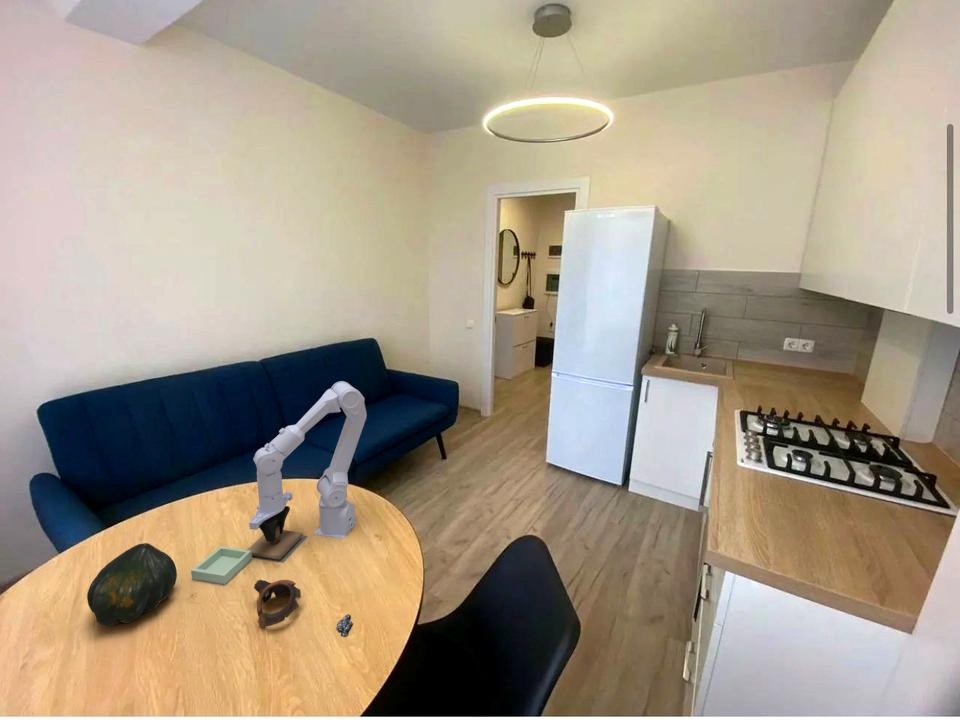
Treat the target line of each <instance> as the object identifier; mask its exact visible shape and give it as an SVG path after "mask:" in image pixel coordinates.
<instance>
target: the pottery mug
mask: <svg viewBox="0 0 960 720" xmlns="http://www.w3.org/2000/svg"><path fill="white" fill-rule="evenodd" d="M296 584H297V583H296V582H294V581H293V580H291V579H280V580H276V581H274V582H269V581H267V580H263V579H259V580H257V581H256V582H255V584H254V586H253V589H254V590H255V591H256V592H257V593H258V599H257V601H256V612H257V616H258V621H257V623H258V624H259V625H260V627H262V628H266V627H270V626H271V627H272V626H274V625H278V624H279V623H282V622H284V621H285V620H286V619H287V618H288V617H289V616H290V615H291V614H292V613H293V611H294V610H296V609H297V608H299V607H300V605H299V603H298V601H297V600H296V599H297V598H298V597H301V595H302V594H301V593H302V592H301V589H300V588H298V587H297V586H295V585H296ZM273 594H274V596H275V597H276V598H277V597H280V596H283V595H286V594H290V596H289V600H288V602H287V604H286V605H285V607H283V608H282V609H281V610H280V611H277V612H274V613H268V612H263V606H262V603H263V604H266V603H267V602H268V601H270V600H271V599H272V597H273V596H272V595H273Z"/></svg>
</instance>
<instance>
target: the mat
mask: <svg viewBox="0 0 960 720" xmlns="http://www.w3.org/2000/svg"><path fill="white" fill-rule="evenodd" d="M307 538H309V535H304V534H303V536H302V537H301V538H300V539H299V540H298V541H297V542H296V543H295V544H294V545H293V546H292V547H291V548H290V549H289V550H288V551H287V553H286V554H285V555H284V556H283V557H282V558H281V559H274V558H267V557H261V556H254V555H252V559H255V560H263V561H270V562H275V563H282V564H283V563H285V562H286V561H287V559H288V558H289V557H291V555H292V554H293V553H294V552H295V551H296V550H297V549H298V548H299V547H300V546H301V544H303V543H304V541H306V539H307Z"/></svg>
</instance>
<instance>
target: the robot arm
mask: <svg viewBox="0 0 960 720" xmlns="http://www.w3.org/2000/svg"><path fill="white" fill-rule="evenodd" d="M340 408H341V409H342V411H341V409H340ZM340 412H343V413H344V414H345V416H346V418H345V420H344V423H343V427H342V429H341V433H340V434H339V438H338V442H337V443H336V447H335V450H334V453H333V456H332V458H331V462H330V464H329V467H327V468H326V469H325V470H324V471H323V474H322V476H321V477H320V478H319V479H318V480H317V483H316V490H317V492H318V493H319V494H320V497H319V501H318V509H319V510H318V511H319V527H318V528H317V529H316V530H315V531H314V533H313V535H315V536H322V537H327V538H328V537H330V538H335V539H342V540H344V539H346V537H347V536H348V535H349V533H350V532H351V531H352V530H353V528H354V527H355V525H356V524H357V521H356V507H355V504H354V503H353V502H351V501H349V500H347V497H348V492H347V491H348V489H347V488H348V485H349V480H348V472H349V469H350V466H351V463H352V462H353V461H352V460H353V457H354V455H355V452H356V448H357V446H358V443H359V439H360V437H361V435H362V431H363V428H364V427H365V426H364V425H365V424H366V423H365V422H366V421H367V414H368V413H367V409H366V404H365V397H364V396H363V394H362V393H361V391H359V390H358V389H356V388H355V387H353V386H352V385H351V384H350V383H349V382H346V381H343V380H341V381H337V382H335V383H334V384H333V385H332V386H331V388H328V389H326V391H325V392H324V393H323V394H322V396H321V397H320V398H319V399H318V401H316V403H315V404H314V405H313V406H312V407H311V408H309V410H308V411H307V412H306V413H305V414H303V416H302V417H301V419H299V420H298V422H297V423H296V424H291V425H287V426H286V427H282V428H280V430H278V432H279V434H278V435H277V436H276V437H275V438H273V439H272V440H271V441H270V442H269V443H268V442H267V443H266V444H264V447H261V448H259V449H257V451H256V452H255V454H254V456H253V458H252V459H253V462H254V463H255V466H256V485H257V495H258V503H259V504H258V505H256V509H257V511H256V513H255V514H254V516H253V517H252V519H251V520H250V521H249V522H248V524H249V525H248V526H249V530H252V531H253V530H255V531H257V530H258V529H259V530H260V531H261V532H262V535H264V536H265V538H266V541H269V542H274V541H275V537H276V532H275V531H276V525H279V530H280V534H282V533H283V530H285V529H284V528H285V523H286V520H287V517H288V515H289V512H290V511H291V508H290V506H288V505H287V504H288V502H289V501H292V500H293V492H288V491H287V492H286V491H285V492H284V490H283V488H284V487H283V479H282V478H283V477H282V472H281V468H282V467H283V464H284V460H285V459H287V457H288V456H289V455H291V453H292V452H293V451H294V450H296V449H297V448H298V446H300V445H301V444H302V443H303V442H304V441H305V435H306V433H307V432H308V431H310V429H312V428H313V427H314V426H315V425H316V424H318V422H320V421H321V420H322V419H323V418H324V417H325V416H326V415H328V414H330V413H331V414H333V413H340Z"/></svg>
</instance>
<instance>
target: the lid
mask: <svg viewBox="0 0 960 720" xmlns="http://www.w3.org/2000/svg"><path fill="white" fill-rule="evenodd" d="M275 532H276V537H275V541H274V542H269V541H266V538H265V536H264V534H262V536H260V537H259V539H257V540H256V541H255V542H254V543H253V544H252V545H250V546H249V547H248V548H247V549H246V550H250V551H252V555H254V556H261V557H267V558H274V559H281V558H282V557H283V556H284V555H285V554H286V553H287V551H288V550H289V549H290V548H291V547H292V546H293V545H294V544H295V543H296V542H297V541H298V540H299V539H300V538H301V537H302V536H303V535H304V534H303V532H301V531H294V530H286V529H283V533H282V534H280V530H279V525H276V531H275Z"/></svg>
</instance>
